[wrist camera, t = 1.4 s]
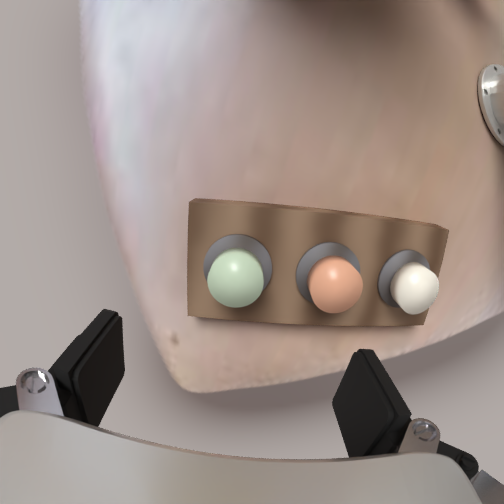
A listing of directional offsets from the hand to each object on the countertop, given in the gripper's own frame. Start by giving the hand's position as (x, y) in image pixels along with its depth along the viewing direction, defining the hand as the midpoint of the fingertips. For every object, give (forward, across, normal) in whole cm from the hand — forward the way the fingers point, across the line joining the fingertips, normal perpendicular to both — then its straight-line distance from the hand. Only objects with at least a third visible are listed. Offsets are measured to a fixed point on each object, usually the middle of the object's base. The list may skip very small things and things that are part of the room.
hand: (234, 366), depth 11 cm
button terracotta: (+16, -9, +1) cm, 19 cm away
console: (+21, -9, +1) cm, 23 cm away
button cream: (+16, -18, +1) cm, 24 cm away
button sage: (+17, 0, +2) cm, 17 cm away
